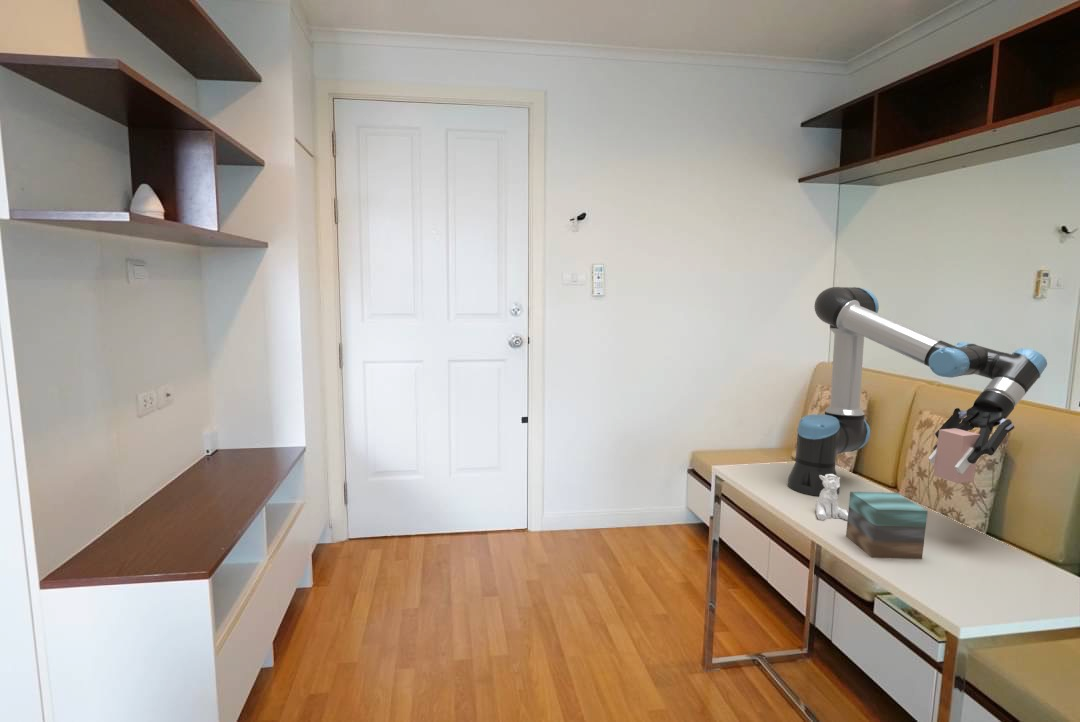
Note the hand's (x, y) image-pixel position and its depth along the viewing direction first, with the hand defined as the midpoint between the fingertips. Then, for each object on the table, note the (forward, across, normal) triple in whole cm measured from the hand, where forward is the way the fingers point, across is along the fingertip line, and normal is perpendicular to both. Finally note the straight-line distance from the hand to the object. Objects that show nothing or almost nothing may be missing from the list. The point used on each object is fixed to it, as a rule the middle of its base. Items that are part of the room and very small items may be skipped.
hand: (944, 466), depth 143 cm
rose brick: (0, 0, -5) cm, 5 cm away
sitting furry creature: (+23, +23, -7) cm, 33 cm away
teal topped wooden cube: (+25, +2, -4) cm, 25 cm away
